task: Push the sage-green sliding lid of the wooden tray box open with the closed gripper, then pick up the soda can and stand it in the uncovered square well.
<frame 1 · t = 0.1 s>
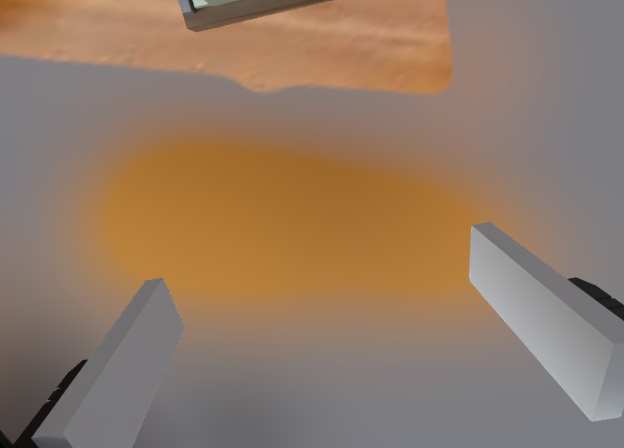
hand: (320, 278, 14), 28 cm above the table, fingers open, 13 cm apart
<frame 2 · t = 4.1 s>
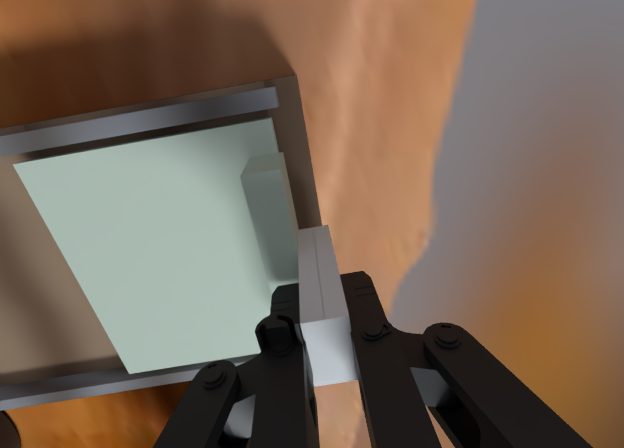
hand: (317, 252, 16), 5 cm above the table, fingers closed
wooden tray box: (140, 244, 21), on the table
lid: (183, 279, 16), point 5 cm above the table, slide at 0.2 cm, touching gripper
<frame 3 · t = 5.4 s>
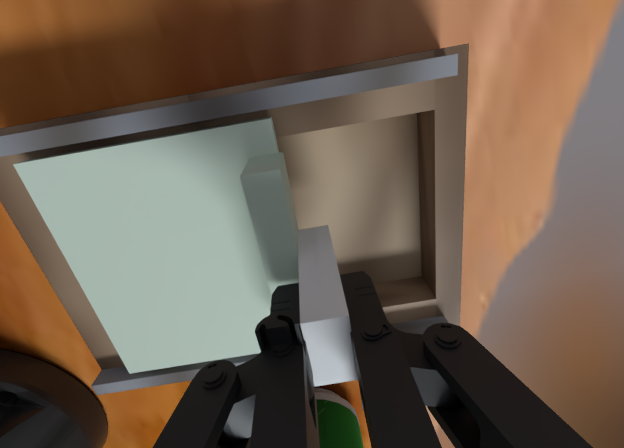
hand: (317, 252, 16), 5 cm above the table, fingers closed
wooden tray box: (258, 224, 20), on the table
soda can: (312, 409, 28), on the table
lid: (183, 279, 16), point 5 cm above the table, slide at 7.8 cm, touching gripper
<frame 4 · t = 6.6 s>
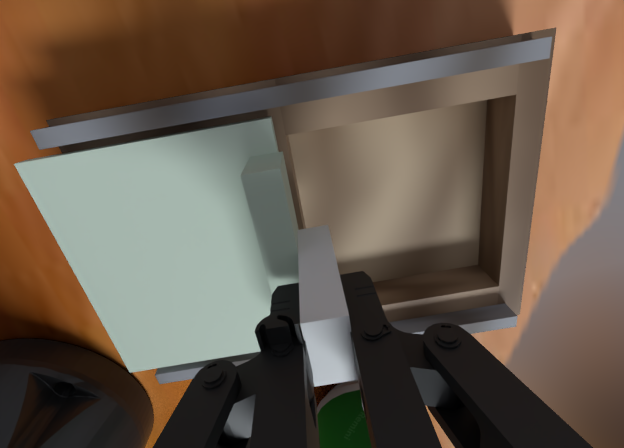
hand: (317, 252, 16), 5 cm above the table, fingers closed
wooden tray box: (319, 213, 21), on the table
soda can: (356, 400, 28), on the table
lid: (184, 278, 16), point 5 cm above the table, slide at 11.7 cm, touching gripper
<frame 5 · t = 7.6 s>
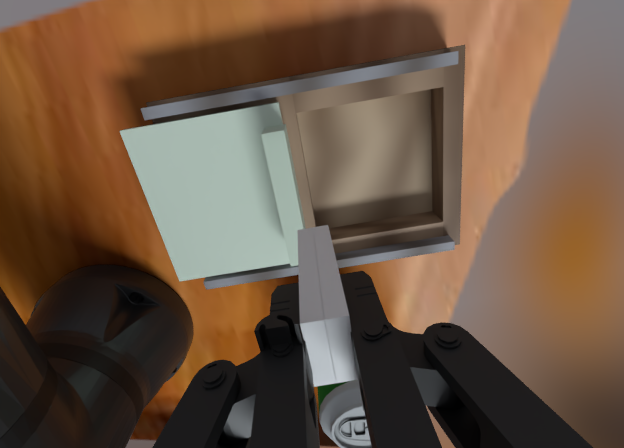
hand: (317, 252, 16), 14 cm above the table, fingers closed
wooden tray box: (318, 171, 29), on the table
soda can: (347, 323, 37), on the table
lid: (221, 206, 25), point 5 cm above the table, slide at 12.3 cm
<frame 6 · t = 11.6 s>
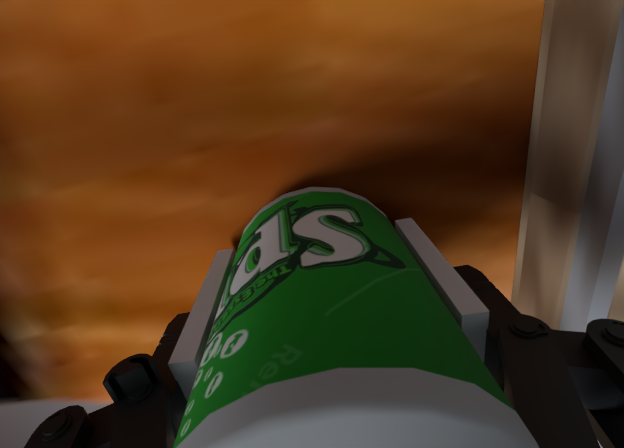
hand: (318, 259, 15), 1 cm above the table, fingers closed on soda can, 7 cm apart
soda can: (317, 250, 16), on the table, touching gripper
when the fingers open (4 cm above the table, at t = 16.8 s): soda can drops 3 cm, resting on wooden tray box.
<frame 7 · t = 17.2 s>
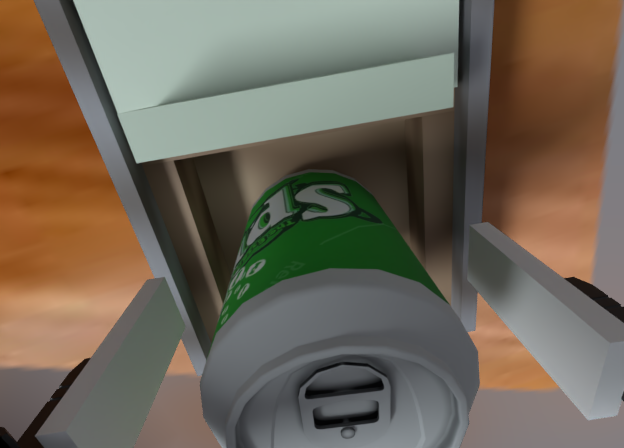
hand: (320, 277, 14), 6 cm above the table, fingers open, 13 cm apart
wooden tray box: (299, 147, 17), on the table
soda can: (314, 226, 19), resting on wooden tray box
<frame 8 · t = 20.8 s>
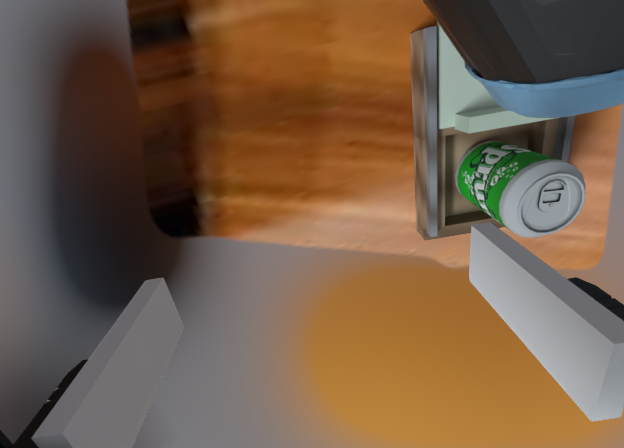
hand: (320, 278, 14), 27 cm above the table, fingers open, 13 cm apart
wooden tray box: (480, 132, 39), on the table
soda can: (480, 169, 40), resting on wooden tray box
lid: (514, 57, 31), point 5 cm above the table, slide at 12.3 cm
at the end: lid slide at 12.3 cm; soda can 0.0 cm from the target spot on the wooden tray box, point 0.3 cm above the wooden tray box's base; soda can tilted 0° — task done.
